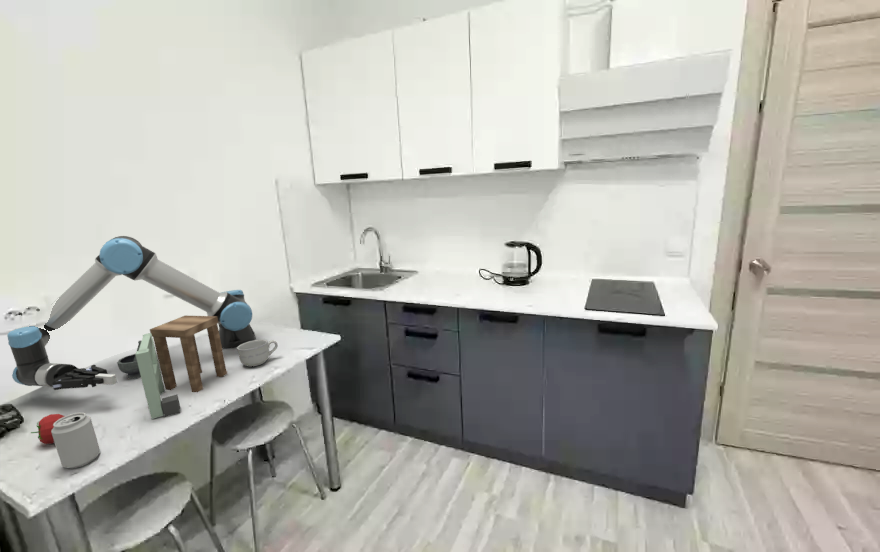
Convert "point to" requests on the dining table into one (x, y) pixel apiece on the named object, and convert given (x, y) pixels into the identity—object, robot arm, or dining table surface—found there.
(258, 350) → the teacup
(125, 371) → the mortar and pestle
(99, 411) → the dining table surface
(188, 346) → the stool
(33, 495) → the dining table surface
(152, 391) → the frame
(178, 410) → the block
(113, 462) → the dining table surface
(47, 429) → the tomato
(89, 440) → the can
